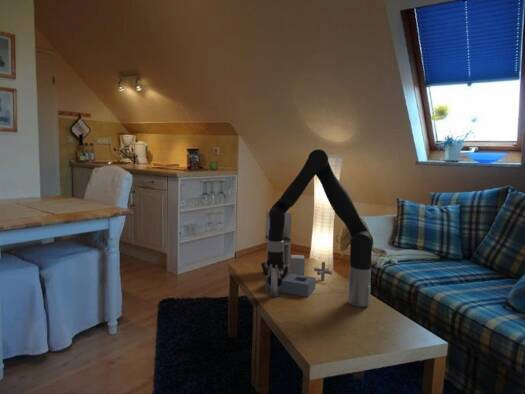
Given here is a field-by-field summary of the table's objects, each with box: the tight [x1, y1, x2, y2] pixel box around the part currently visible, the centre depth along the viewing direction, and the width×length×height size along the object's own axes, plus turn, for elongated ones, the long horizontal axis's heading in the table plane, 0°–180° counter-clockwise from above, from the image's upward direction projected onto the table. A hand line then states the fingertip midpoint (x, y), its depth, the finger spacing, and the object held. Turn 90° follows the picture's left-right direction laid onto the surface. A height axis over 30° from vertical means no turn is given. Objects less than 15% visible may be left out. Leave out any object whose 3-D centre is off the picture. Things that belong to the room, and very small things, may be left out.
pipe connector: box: [313, 261, 333, 282], centre depth 213 cm, size 10×10×10 cm
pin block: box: [264, 272, 317, 298], centre depth 198 cm, size 22×12×6 cm, turn 67°
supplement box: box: [289, 254, 306, 276], centre depth 213 cm, size 7×7×13 cm
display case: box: [264, 209, 293, 273], centre depth 221 cm, size 11×11×35 cm
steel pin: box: [269, 267, 280, 298], centre depth 188 cm, size 4×4×14 cm
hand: (274, 284), depth 189 cm, fingers closed on steel pin, 4 cm apart
